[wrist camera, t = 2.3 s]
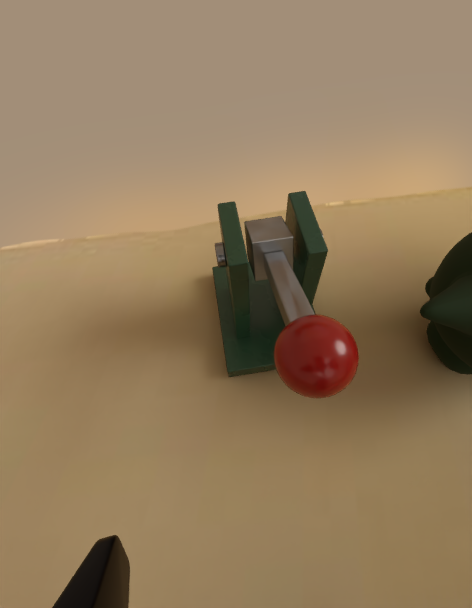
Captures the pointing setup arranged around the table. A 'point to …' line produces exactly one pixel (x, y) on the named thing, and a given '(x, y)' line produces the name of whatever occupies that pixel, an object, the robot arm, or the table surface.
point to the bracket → (260, 286)
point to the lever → (299, 318)
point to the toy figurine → (452, 308)
